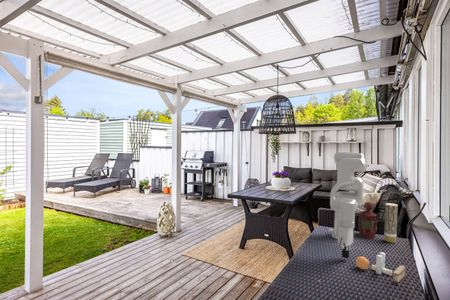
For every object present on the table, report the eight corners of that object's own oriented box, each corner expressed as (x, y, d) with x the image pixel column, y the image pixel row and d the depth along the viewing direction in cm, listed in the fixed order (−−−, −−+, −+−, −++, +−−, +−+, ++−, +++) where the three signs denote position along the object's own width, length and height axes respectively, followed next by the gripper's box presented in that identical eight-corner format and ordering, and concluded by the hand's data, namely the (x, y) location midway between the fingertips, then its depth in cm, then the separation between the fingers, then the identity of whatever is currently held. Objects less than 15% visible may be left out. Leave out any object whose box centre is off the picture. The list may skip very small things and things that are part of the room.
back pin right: (375, 272, 126) (375, 255, 126) (376, 271, 128) (377, 254, 128) (380, 274, 125) (381, 257, 125) (382, 273, 126) (382, 256, 126)
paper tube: (392, 243, 169) (393, 205, 169) (381, 240, 175) (383, 203, 175) (398, 242, 172) (399, 205, 172) (387, 239, 178) (389, 202, 178)
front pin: (371, 265, 130) (390, 271, 124) (372, 263, 131) (392, 269, 125) (371, 270, 130) (390, 276, 124) (373, 268, 132) (392, 274, 125)
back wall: (393, 281, 119) (393, 272, 119) (400, 273, 127) (400, 265, 127) (398, 282, 117) (398, 274, 117) (404, 274, 126) (405, 266, 126)
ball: (367, 273, 127) (360, 270, 132) (374, 263, 128) (367, 261, 134) (357, 263, 127) (351, 262, 133) (364, 254, 129) (358, 253, 135)
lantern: (373, 240, 175) (374, 196, 175) (354, 235, 184) (356, 193, 184) (379, 236, 183) (381, 194, 183) (361, 232, 192) (363, 191, 192)
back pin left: (378, 270, 130) (379, 253, 130) (379, 268, 132) (380, 251, 132) (383, 271, 128) (384, 254, 128) (385, 270, 130) (385, 253, 130)
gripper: (345, 219, 148) (344, 251, 148) (333, 224, 138) (332, 258, 138) (359, 223, 143) (357, 256, 143) (348, 227, 133) (346, 263, 133)
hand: (345, 257), depth 141 cm, fingers closed
